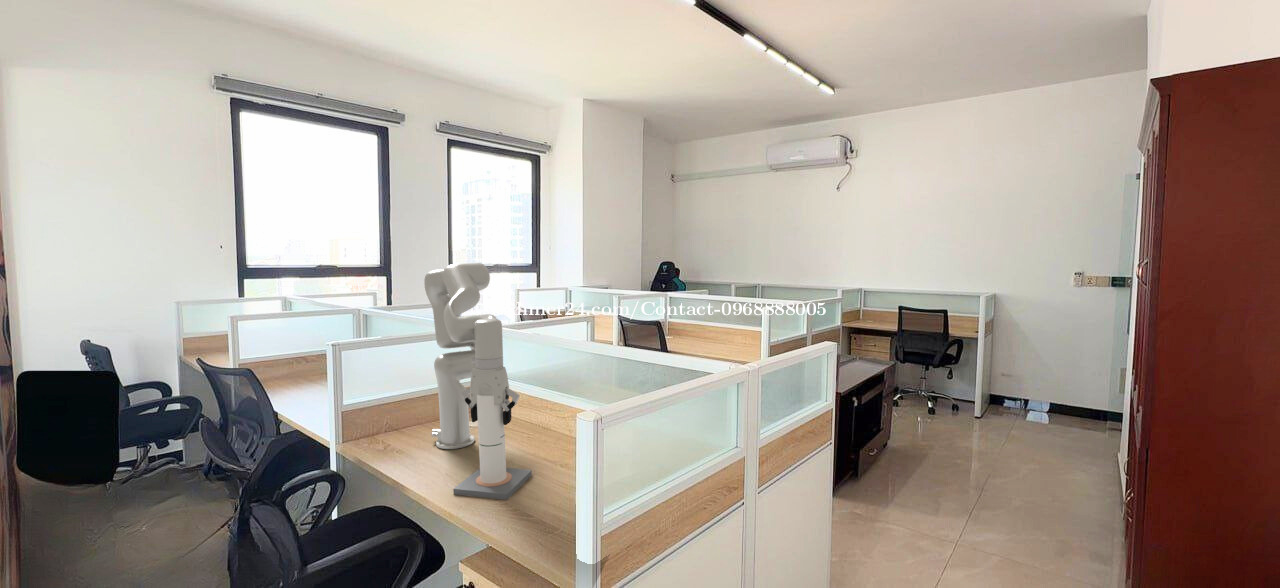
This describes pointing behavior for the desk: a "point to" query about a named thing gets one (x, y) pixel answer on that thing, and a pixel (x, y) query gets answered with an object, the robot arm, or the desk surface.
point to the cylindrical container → (491, 440)
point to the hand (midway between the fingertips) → (491, 422)
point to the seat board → (493, 484)
